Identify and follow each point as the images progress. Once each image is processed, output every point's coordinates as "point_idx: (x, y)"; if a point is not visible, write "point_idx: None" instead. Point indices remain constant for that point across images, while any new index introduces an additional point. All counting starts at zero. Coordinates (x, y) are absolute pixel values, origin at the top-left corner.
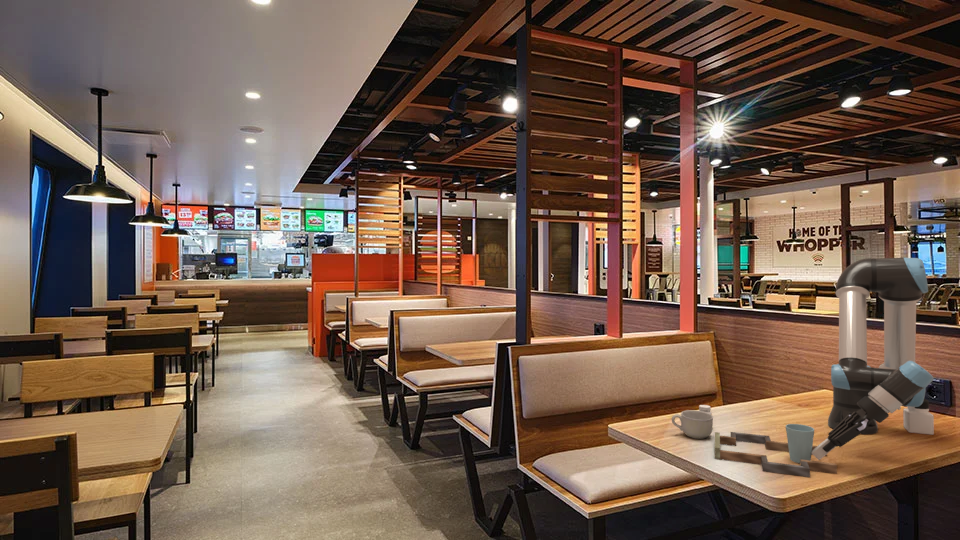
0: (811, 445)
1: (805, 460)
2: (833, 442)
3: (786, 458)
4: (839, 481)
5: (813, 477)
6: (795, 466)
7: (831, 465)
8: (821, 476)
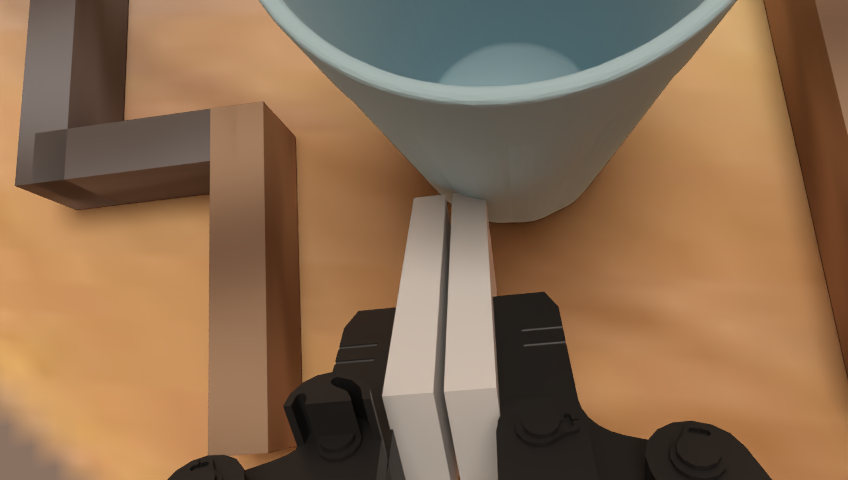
0: (436, 168)
1: (246, 148)
2: (263, 471)
3: None
4: (57, 443)
5: (84, 236)
6: (30, 68)
7: (215, 399)
8: (132, 301)
